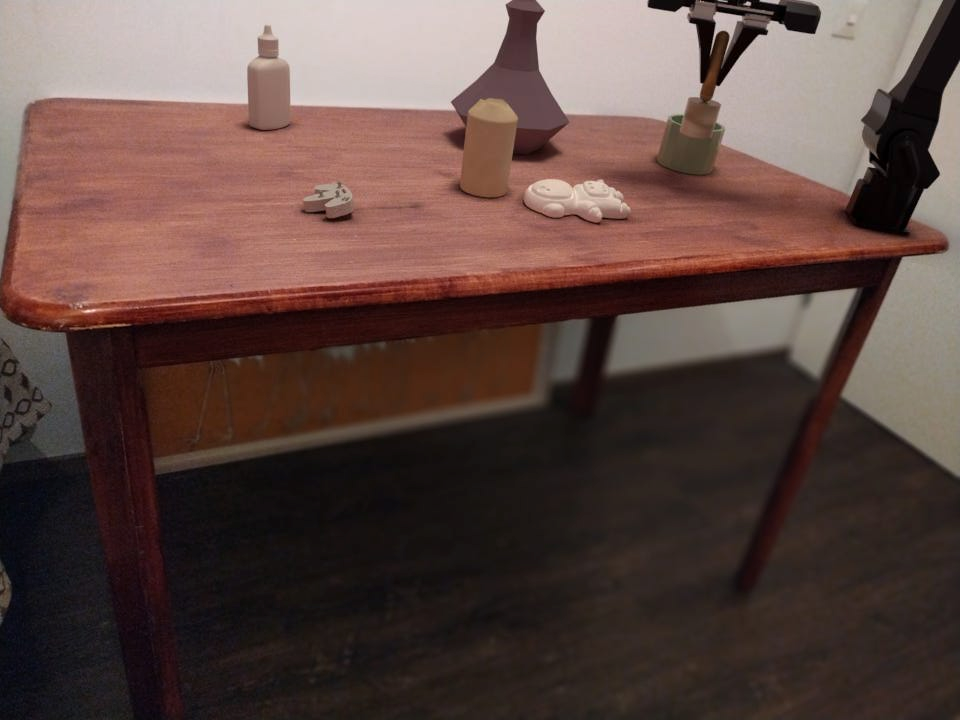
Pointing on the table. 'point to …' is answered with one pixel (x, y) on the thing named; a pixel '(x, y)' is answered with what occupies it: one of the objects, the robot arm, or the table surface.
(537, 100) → the purple faceted vase
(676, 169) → the scrub cup
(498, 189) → the candle
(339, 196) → the game controller
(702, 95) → the brush
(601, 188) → the astronaut figurine
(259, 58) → the eye dropper bottle
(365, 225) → the table surface
